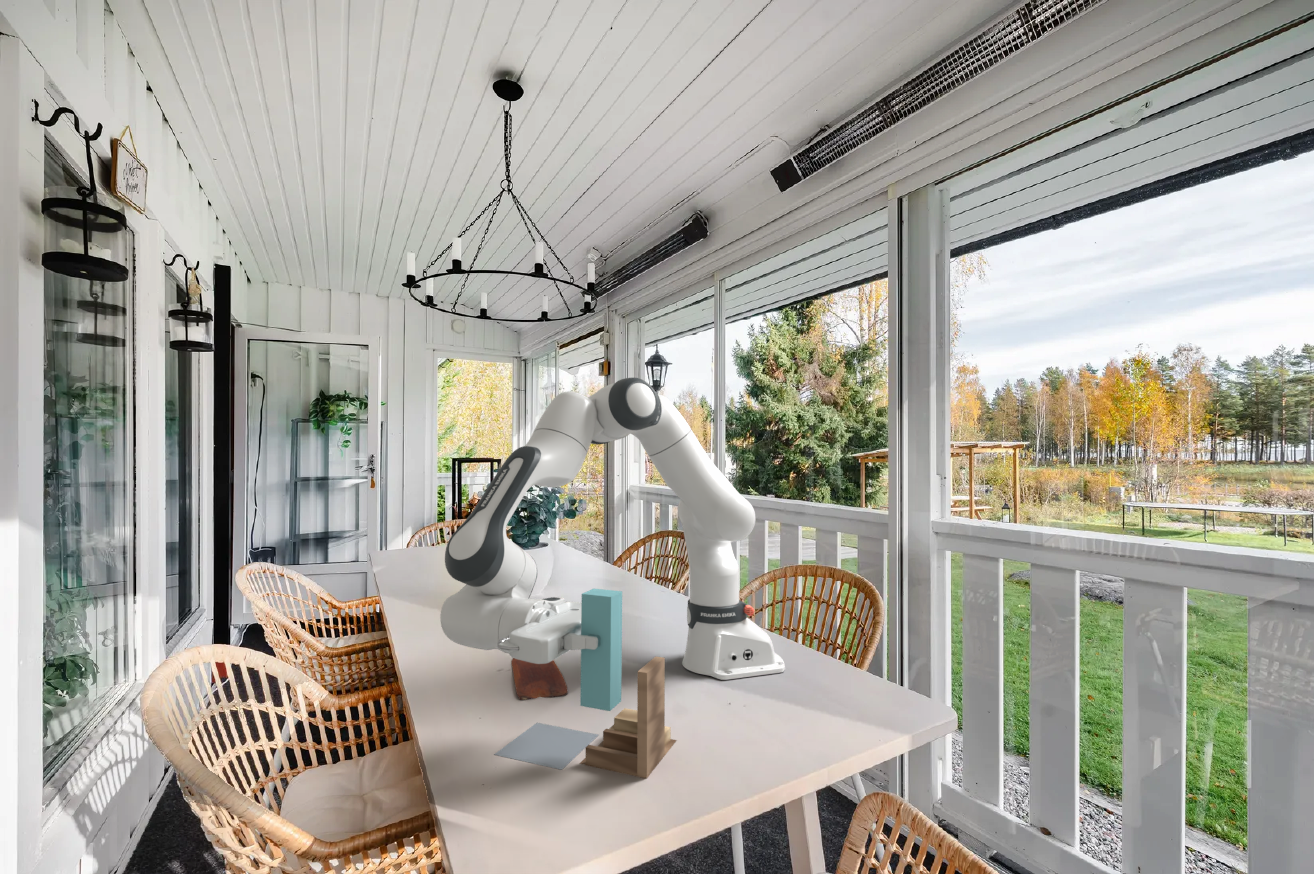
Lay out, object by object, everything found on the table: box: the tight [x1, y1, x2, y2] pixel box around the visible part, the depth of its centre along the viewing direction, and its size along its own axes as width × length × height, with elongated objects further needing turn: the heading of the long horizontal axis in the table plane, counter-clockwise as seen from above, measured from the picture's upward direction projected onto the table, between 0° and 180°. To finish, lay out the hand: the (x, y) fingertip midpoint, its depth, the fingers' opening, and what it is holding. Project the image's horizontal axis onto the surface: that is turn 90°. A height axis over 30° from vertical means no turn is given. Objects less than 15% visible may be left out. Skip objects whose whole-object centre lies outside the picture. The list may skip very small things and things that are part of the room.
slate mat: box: [493, 722, 600, 771], centre depth 99 cm, size 12×12×1 cm
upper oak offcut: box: [613, 707, 637, 734], centre depth 100 cm, size 4×7×2 cm, turn 68°
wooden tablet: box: [510, 658, 569, 701], centre depth 133 cm, size 27×10×2 cm, turn 16°
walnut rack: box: [579, 656, 678, 779], centre depth 97 cm, size 12×11×16 cm
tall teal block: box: [579, 588, 623, 712], centre depth 96 cm, size 4×5×17 cm
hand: (606, 637), depth 96 cm, fingers closed on tall teal block, 4 cm apart
